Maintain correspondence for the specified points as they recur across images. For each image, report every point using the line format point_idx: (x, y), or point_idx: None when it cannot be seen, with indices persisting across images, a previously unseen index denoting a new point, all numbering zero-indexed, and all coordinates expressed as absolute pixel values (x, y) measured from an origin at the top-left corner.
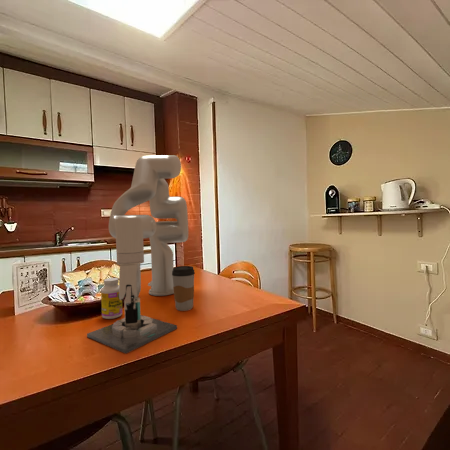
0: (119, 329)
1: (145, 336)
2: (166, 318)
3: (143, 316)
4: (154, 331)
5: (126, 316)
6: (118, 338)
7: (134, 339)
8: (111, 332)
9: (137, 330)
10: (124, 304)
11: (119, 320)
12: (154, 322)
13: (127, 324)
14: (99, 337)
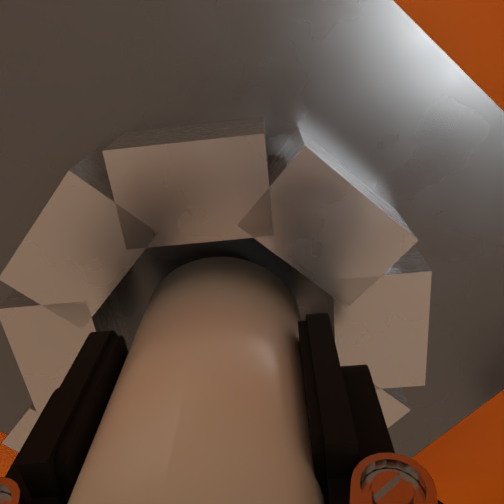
0: (27, 263)
1: None
2: (494, 474)
3: (388, 409)
4: None
5: (63, 397)
6: (17, 231)
7: (9, 361)
8: (160, 111)
9: (17, 423)
10: (117, 488)
11: (318, 181)
12: None
13: (142, 319)
14: (21, 12)
